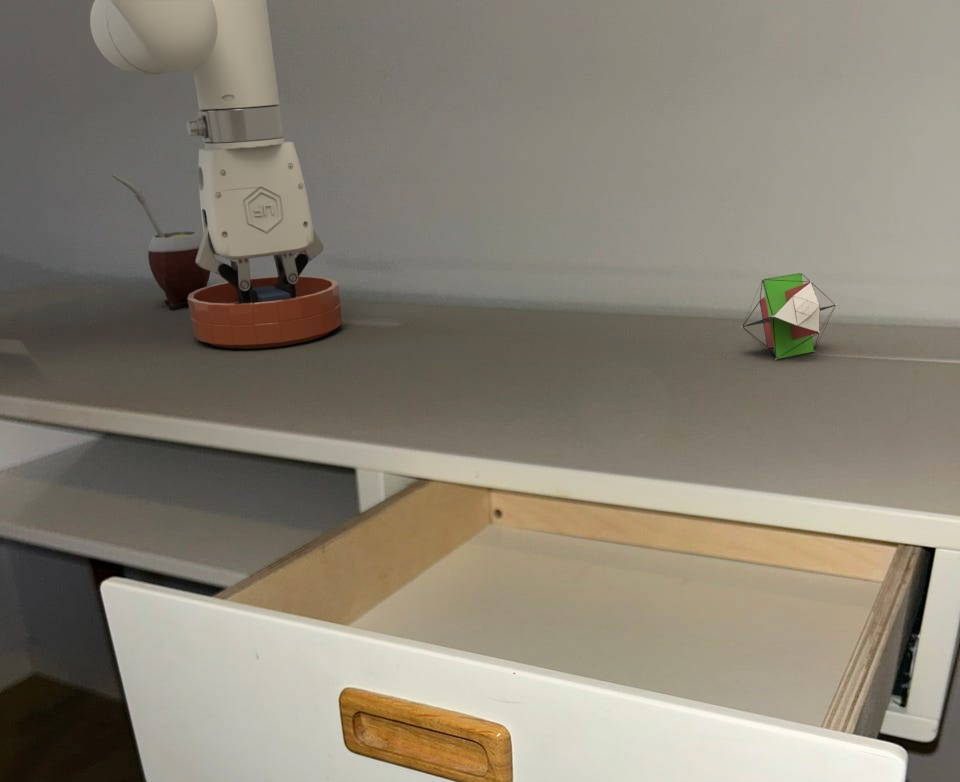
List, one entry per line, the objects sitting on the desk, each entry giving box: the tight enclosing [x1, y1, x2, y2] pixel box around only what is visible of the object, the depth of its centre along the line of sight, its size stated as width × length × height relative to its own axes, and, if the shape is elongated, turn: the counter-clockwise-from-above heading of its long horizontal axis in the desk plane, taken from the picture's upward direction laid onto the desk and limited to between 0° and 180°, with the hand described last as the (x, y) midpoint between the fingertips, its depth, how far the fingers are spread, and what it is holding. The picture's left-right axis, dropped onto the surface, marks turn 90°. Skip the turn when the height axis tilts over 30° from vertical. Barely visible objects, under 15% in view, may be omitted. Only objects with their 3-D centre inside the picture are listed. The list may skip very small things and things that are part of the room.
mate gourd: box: [111, 173, 211, 311], centre depth 125 cm, size 8×8×15 cm
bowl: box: [187, 275, 343, 350], centre depth 111 cm, size 15×15×4 cm
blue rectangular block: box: [253, 286, 291, 302], centre depth 110 cm, size 3×6×4 cm, turn 29°
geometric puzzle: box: [740, 271, 838, 361], centre depth 91 cm, size 7×7×8 cm
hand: (271, 324), depth 110 cm, fingers closed on blue rectangular block, 3 cm apart
